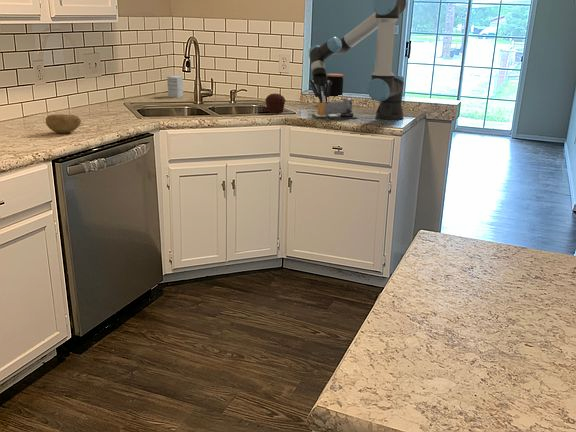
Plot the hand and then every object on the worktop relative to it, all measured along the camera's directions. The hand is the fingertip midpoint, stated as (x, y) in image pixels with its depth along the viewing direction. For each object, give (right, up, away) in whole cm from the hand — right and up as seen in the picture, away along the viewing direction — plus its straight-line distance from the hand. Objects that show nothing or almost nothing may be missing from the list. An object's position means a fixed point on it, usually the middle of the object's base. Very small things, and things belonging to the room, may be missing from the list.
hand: (324, 107), depth 305 cm
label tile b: (-2, -4, +6) cm, 8 cm away
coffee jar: (+9, +13, +60) cm, 62 cm away
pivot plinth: (+13, -4, +9) cm, 16 cm away
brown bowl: (-115, -22, -57) cm, 130 cm away
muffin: (-27, +1, +19) cm, 33 cm away
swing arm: (+6, -3, +2) cm, 7 cm away
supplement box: (-91, +19, +64) cm, 113 cm away
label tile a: (+5, -4, +7) cm, 10 cm away
